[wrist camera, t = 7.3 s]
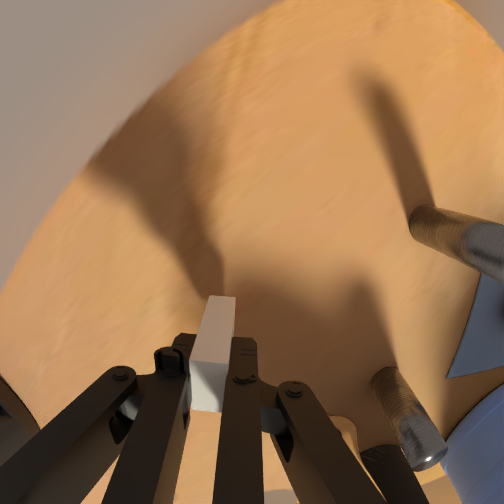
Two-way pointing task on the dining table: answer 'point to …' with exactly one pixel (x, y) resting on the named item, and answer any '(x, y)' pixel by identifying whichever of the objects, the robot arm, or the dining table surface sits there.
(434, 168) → the dining table surface
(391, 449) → the travel mug
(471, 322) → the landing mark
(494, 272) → the post
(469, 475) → the water jug
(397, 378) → the post
